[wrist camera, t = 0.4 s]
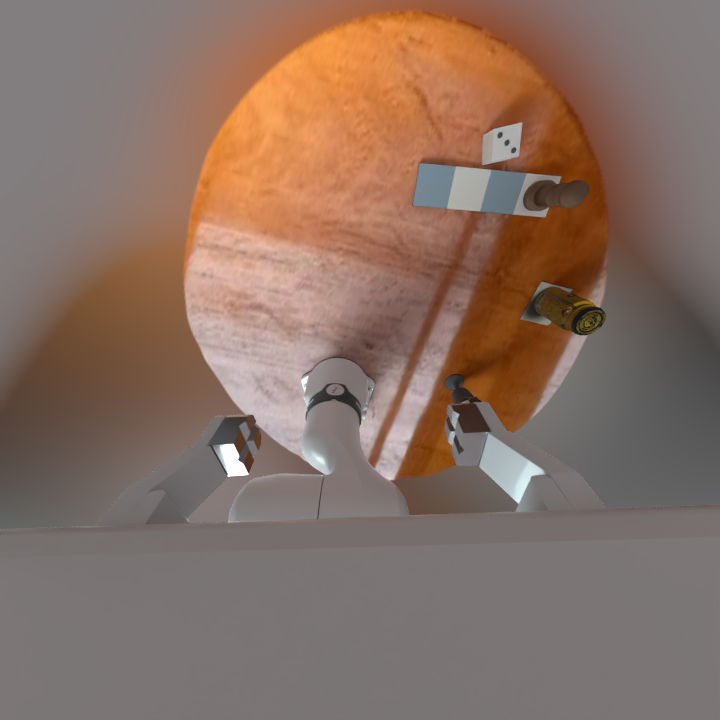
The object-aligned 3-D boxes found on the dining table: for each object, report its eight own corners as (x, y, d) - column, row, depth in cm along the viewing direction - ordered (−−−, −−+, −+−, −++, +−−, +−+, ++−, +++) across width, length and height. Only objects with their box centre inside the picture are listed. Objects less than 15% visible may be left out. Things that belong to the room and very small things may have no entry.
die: (506, 160, 43) (519, 156, 39) (481, 165, 43) (492, 162, 40) (508, 129, 41) (522, 121, 37) (482, 135, 41) (494, 128, 38)
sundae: (472, 377, 66) (499, 419, 53) (456, 395, 69) (478, 439, 56) (451, 367, 64) (474, 408, 51) (436, 386, 67) (453, 430, 55)
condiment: (571, 289, 54) (621, 309, 44) (548, 325, 58) (588, 351, 48) (540, 281, 53) (583, 299, 43) (518, 318, 57) (553, 343, 47)
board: (541, 217, 47) (545, 217, 46) (412, 205, 46) (413, 205, 45) (557, 177, 44) (561, 176, 43) (418, 163, 43) (420, 163, 42)
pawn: (543, 211, 46) (588, 214, 36) (518, 209, 45) (558, 211, 36) (554, 181, 43) (606, 176, 34) (529, 179, 43) (574, 173, 34)
